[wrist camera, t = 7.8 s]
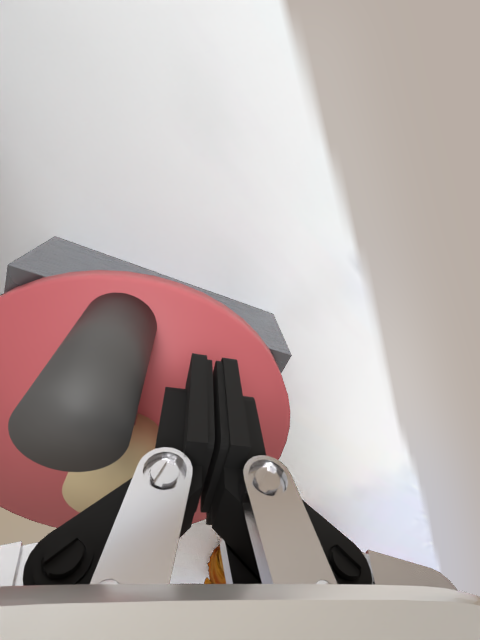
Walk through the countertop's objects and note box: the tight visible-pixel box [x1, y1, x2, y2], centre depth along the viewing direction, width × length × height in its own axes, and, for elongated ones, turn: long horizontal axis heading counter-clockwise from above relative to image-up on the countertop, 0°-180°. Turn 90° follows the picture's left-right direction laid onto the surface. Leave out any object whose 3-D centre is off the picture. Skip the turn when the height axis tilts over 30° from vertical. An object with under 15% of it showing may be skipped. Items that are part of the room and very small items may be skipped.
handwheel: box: [0, 270, 290, 528], centre depth 15 cm, size 18×18×7 cm
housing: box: [4, 237, 292, 373], centre depth 20 cm, size 14×14×5 cm
